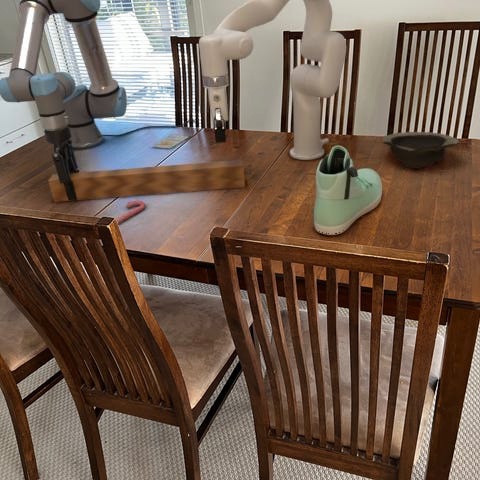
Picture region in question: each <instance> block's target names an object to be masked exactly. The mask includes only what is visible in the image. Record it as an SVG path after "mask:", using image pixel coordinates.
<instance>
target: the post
mask: <svg viewBox="0 0 480 480" xmlns="http://www.w3.org/2000/svg"><path fill="white" fill-rule="evenodd" d="M244 166H245V165H244V159H235V160H223V161H222V160H221V161H209V162H197V163H183V164H170V165H158V166H157V165H155V166H146V167H145V166H144V167H133V168H131V167H130V168H121V169H120V168H118V169H107V170H106V169H105V170H94V171H93V170H92V171H81V172H80V171H79V173H70V178H71V181H73V185H74V189H75V192H76V196H77V200H76V201H85V200H97V199H110V198H123V197H124V198H125V197H137V196H148V195H150V196H151V195H161V194H175V193H188V192H189V193H190V192H200V191H201V192H202V191H213V190H214V191H215V190H226V189H239V188H240V189H241V188H246V182H245V168H244ZM47 181H48V185H49V188H50V192H51V195H52V198H53V201H54V203H58V202H60V203H61V202H72V201H74V200H69V201H68V197H67V194H66V190H65V187H64V183H60V180H59V177H58V173H56V174H55V173H54V174H52V175H51V176H50V177H49V179H48V180H47Z"/></svg>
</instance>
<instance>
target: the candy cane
mask: <svg viewBox="0 0 480 480" xmlns="http://www.w3.org/2000/svg"><path fill="white" fill-rule="evenodd" d="M135 206H137V207H135ZM132 207H135V208H134V209H132V210H130V211H128V212H126V213H125V214H122V215H121V216H120V217H118V218H116V219H115V220H117V222H118V224H117V225H119V224H121V223H122V222H124V221H125V220H127V219H129V218H131V217H132V216H134V215H136V214H137V213H139V212H141V211H143V210H145V208H146V203H145V201H143V200H132V201H129V202H128V203H127V204H126V208H127V209H130V208H132Z"/></svg>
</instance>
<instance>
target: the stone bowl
mask: <svg viewBox="0 0 480 480" xmlns="http://www.w3.org/2000/svg"><path fill="white" fill-rule="evenodd" d="M381 142H382V144H384V145H386V146H390V151H391V154H392V155H393V156H394V157H395V159H397V160H399V161H401V163H402V164H401V165H402V167H404V168H411V169H420V168H429V167H432V166H433V165H434V163H435V162H436V163H439V162H443V161H444V159H445V157H446V149H448V148H452V147H455V146H456V145H458V144H460V143H461V141H460V140H459V139H457V138H455V137H453V136H451V135H447V134H444V133H440V132H430V131H405V132H395V133H390V134H387V135H384V136H382V138H381Z"/></svg>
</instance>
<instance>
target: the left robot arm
mask: <svg viewBox="0 0 480 480" xmlns="http://www.w3.org/2000/svg"><path fill="white" fill-rule="evenodd" d="M18 5H19V6H18V13H19V15H20V17H19V24H18V28H17V35H16V39H15V45H14V49H13V54H12V59H11V65H10V71H9V75H8V76H5V77H1V78H0V97H1V99H2V100H3V101H4V102H6V103H27V102H35V104H36V108H37V111H38V115H39V116H38V117H39V120H40V123H41V126H42V129H44V130H43V133H44V136H45V139H46V142H47V143H49V144H52V145H53V153H52V154H51V158H52V160H53V162H54V166H55V170H56V174H58V177H59V180H60V183H64V187H65V190H66V194H67V197H68V201H67V202H70V201H69V200H73V201H78V200H77V196H76V192H75V189H74V185H73V181H71V178H70V173H79V172H80V169H79V166H78V163H77V159H76V156H75V152H74V151H75V150H85V149H92V148H94V147H97V146H99V145H102V143H104V138H105V137H113V138H114V137H115V138H117V137H123V136H126V135H128V134H132V133H135V132H138V131H140V130H145V129H154V128H156V129H157V128H159V129H160V128H161V129H162V128H166V129H167V128H168V129H173V128H174V129H175V128H182V127H184V126H186V125H188V124H189V123H190V122H193V123H197V121H196V120H195V119H187V121H185V122H184V123H183V124H179V125H147V126H142V127H138V128H135V129H133V130H130V131H127V132H123V133H120V134H102V132H101V130H100V129H99V127H98V125H97V124H96V121H95V120H96V119H111V118H113V119H116V118H121V117H124V116H125V115H126V112H127V105H128V98H127V97H128V96H127V91H126V88H125V87H124V86H120V85H119V82H118V81H117V79H115V78H113V75H112V72H111V68H110V65H109V62H108V61H109V60H108V57H107V54H106V52H105V51H106V50H105V47H104V44H103V40H102V38H101V34H100V31H99V27H98V23H97V20H96V18H97V17H98V15H99V11H100V9H101V0H20V1H19V4H18ZM58 14H59V15H63V17H64V20H65V22H67V23H68V24H70V25H71V28H72V30H73V34H74V36H75V39H76V42H77V46H78V48H79V51H80V54H81V57H82V58H81V59H82V61H83V64H84V66H85V69H86V72H87V75H88V78H89V81H90V85H89V87H88V86H87V85H86V84H80V85H76V81H75V78H73V76H72V75H71V73H68V72H66V71H58V72H54V73H52V72H47V73H46V72H45V73H38V74H37V70H38V67H39V66H38V65H39V59H40V54H41V49H42V48H41V47H42V43H43V37H44V32H45V25H46V24H47V23H48V22H49V21H50V16H53V15H58Z"/></svg>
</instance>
